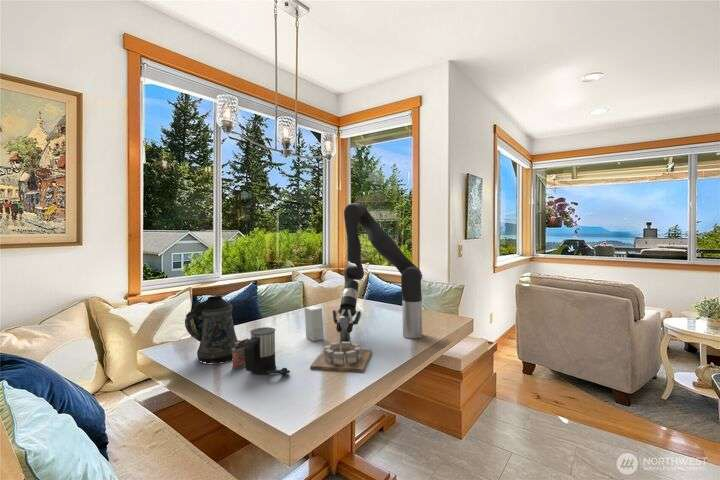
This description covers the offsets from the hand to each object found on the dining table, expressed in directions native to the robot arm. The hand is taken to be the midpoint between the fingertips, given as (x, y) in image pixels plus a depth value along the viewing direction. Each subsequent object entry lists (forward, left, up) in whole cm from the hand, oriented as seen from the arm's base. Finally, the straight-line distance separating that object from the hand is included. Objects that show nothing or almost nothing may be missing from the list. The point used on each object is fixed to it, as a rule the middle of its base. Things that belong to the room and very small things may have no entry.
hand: (343, 331), depth 154 cm
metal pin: (0, -2, -6) cm, 6 cm away
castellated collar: (-4, +19, -6) cm, 20 cm away
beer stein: (+48, +24, -6) cm, 54 cm away
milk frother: (+19, +34, -6) cm, 40 cm away
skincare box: (+16, -6, -6) cm, 18 cm away
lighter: (+33, +30, -6) cm, 45 cm away
